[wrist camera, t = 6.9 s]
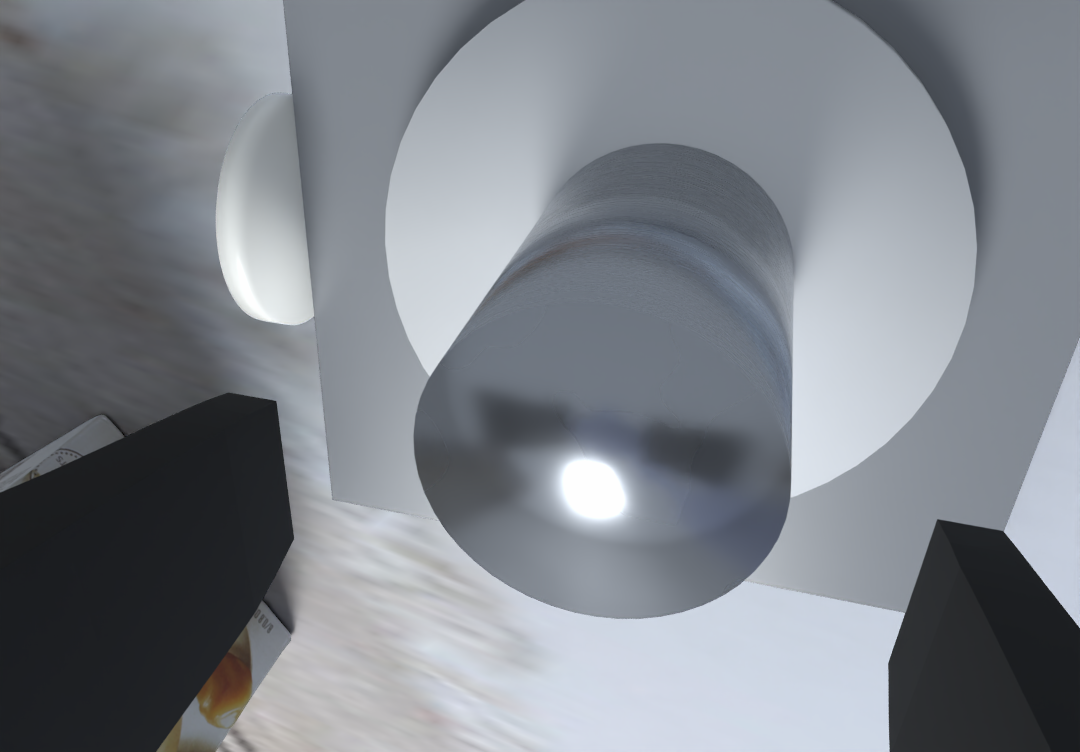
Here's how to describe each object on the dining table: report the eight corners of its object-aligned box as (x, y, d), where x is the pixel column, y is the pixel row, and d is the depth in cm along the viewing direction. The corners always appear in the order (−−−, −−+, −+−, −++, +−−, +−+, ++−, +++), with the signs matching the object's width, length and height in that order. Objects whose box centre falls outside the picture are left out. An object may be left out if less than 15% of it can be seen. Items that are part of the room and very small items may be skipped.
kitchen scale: (950, 546, 21) (984, 706, 17) (345, 435, 23) (255, 552, 20) (1205, -174, 13) (1368, -181, 10) (290, -209, 16) (131, -226, 12)
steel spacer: (761, 405, 16) (744, 654, 11) (525, 356, 17) (410, 571, 12) (823, 167, 14) (838, 348, 9) (548, 123, 15) (417, 267, 10)
